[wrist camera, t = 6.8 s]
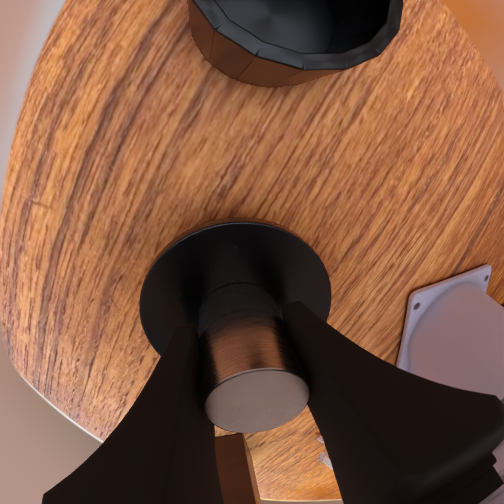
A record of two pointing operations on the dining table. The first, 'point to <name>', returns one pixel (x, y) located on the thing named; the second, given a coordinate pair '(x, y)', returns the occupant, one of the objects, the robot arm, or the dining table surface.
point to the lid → (238, 315)
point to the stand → (236, 470)
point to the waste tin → (291, 36)
